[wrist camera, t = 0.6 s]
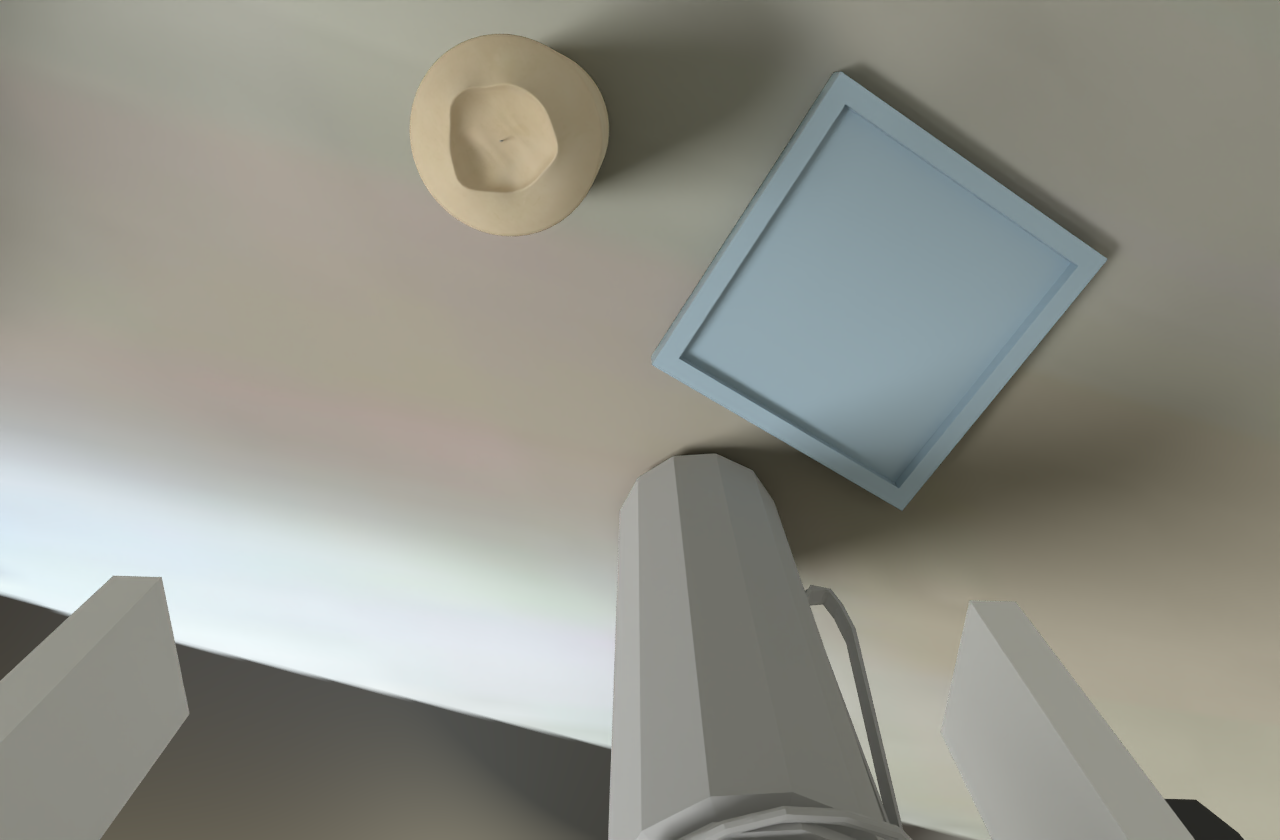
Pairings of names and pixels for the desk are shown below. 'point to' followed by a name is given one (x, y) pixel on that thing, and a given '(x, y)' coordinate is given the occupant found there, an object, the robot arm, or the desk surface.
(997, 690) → the robot arm
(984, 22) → the desk surface
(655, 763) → the water bottle
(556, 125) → the candle
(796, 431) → the tray
